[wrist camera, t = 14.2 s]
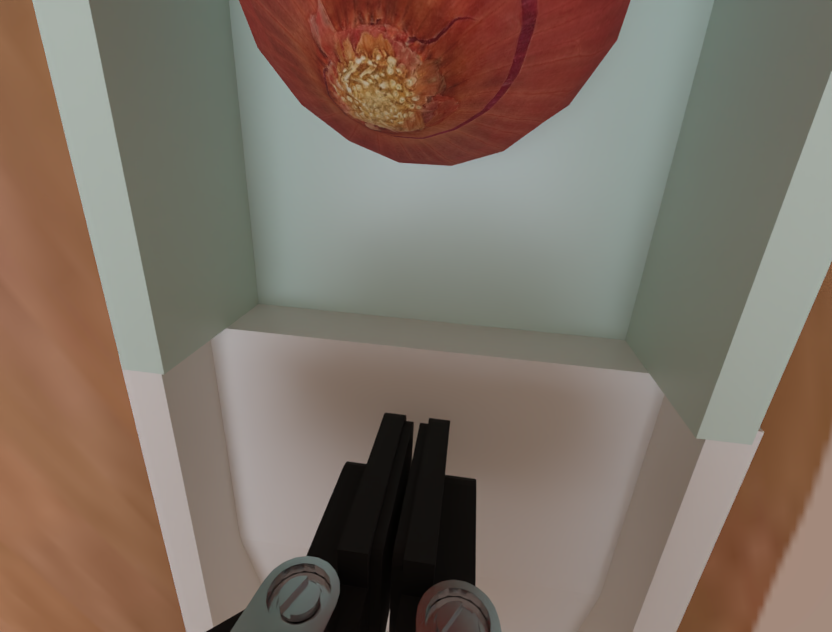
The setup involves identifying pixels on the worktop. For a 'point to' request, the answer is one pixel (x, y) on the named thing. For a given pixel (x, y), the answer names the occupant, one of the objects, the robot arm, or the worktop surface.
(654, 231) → the tray
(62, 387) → the worktop surface
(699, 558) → the white piece
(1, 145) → the worktop surface
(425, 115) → the red round fruit
